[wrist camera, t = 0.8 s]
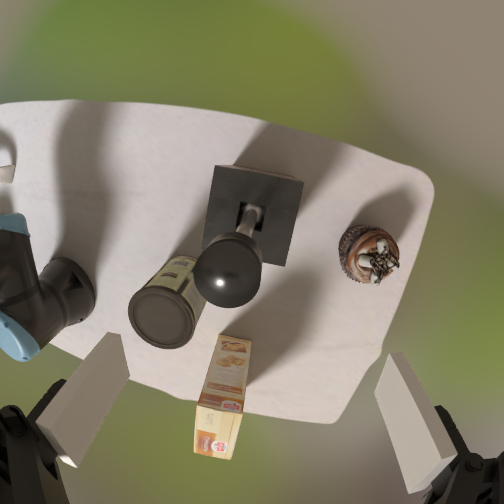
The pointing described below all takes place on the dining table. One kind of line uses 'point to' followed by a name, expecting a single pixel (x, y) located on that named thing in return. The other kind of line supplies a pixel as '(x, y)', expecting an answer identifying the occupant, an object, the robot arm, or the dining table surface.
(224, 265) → the plunger
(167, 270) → the coffee can
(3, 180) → the spoon rest
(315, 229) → the dining table surface
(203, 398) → the coffeecake box
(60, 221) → the dining table surface
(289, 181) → the grey brown upright block
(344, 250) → the cupcake
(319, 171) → the dining table surface
